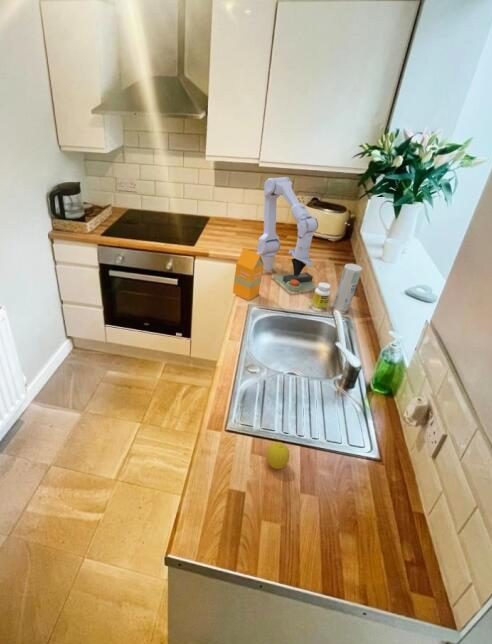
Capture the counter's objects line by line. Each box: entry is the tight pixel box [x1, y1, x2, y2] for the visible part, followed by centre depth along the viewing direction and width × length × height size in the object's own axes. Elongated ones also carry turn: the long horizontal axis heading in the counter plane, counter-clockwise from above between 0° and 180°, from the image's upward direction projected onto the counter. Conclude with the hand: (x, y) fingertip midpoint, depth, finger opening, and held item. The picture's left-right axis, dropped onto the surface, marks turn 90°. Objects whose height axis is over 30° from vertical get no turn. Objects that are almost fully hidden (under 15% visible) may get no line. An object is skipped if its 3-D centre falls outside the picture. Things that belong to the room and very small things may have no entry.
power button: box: [290, 279, 299, 286], centre depth 178 cm, size 4×4×2 cm
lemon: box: [265, 441, 290, 470], centre depth 99 cm, size 6×6×8 cm
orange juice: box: [232, 248, 264, 301], centre depth 171 cm, size 8×9×20 cm
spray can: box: [332, 263, 363, 312], centre depth 162 cm, size 6×6×20 cm
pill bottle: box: [311, 282, 332, 310], centre depth 165 cm, size 6×6×11 cm
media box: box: [272, 272, 318, 293], centre depth 184 cm, size 16×14×4 cm
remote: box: [283, 272, 314, 283], centre depth 185 cm, size 13×4×3 cm, turn 109°
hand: (296, 274), depth 176 cm, fingers closed
